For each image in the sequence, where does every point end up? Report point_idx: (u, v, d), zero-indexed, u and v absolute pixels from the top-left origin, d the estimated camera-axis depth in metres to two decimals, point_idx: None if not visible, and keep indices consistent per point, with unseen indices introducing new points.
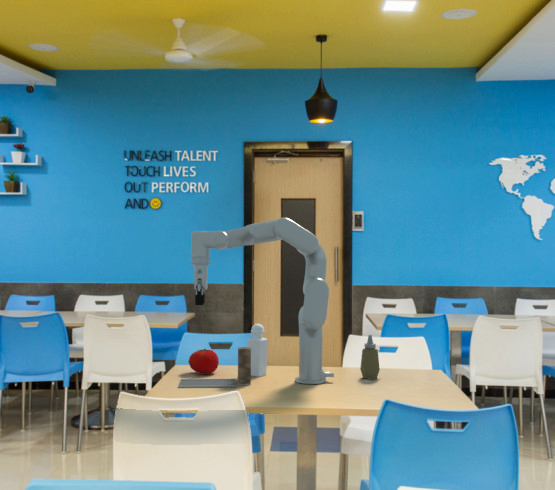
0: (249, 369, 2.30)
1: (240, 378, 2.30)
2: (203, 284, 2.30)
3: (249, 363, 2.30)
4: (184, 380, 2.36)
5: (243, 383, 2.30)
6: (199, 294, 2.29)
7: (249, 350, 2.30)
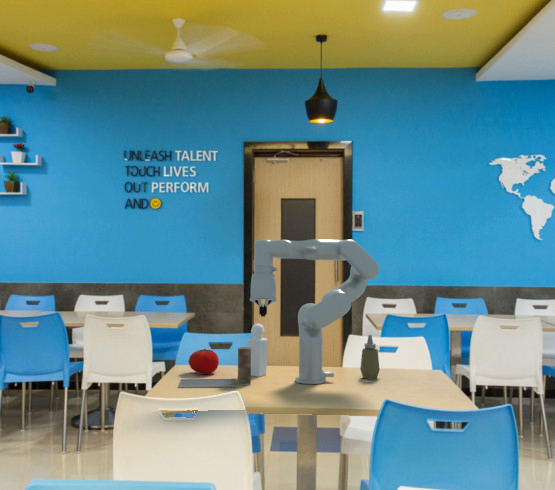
0: (249, 369, 2.30)
1: (240, 378, 2.30)
2: None
3: (249, 363, 2.30)
4: (184, 380, 2.36)
5: (243, 383, 2.30)
6: None
7: (249, 350, 2.30)
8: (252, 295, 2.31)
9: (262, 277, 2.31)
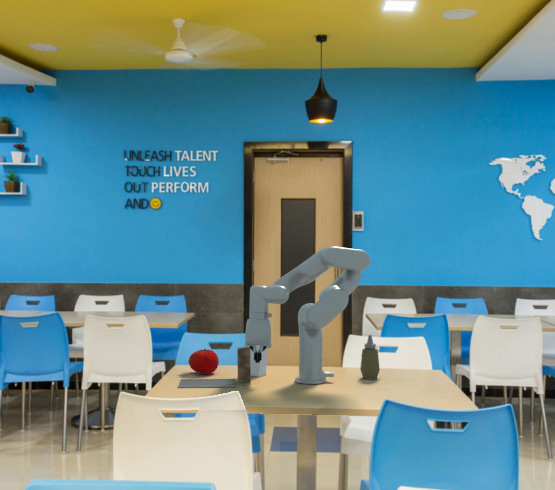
0: (249, 369, 2.30)
1: (240, 378, 2.30)
2: None
3: (249, 363, 2.30)
4: (184, 380, 2.36)
5: (243, 383, 2.30)
6: None
7: (248, 350, 2.30)
8: (247, 341, 2.31)
9: (257, 323, 2.31)
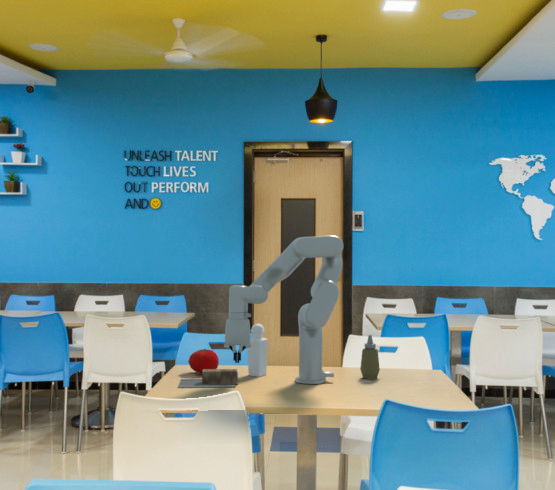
0: (222, 372, 2.29)
1: (231, 381, 2.29)
2: None
3: (216, 372, 2.29)
4: (184, 380, 2.36)
5: (236, 378, 2.29)
6: (240, 352, 2.32)
7: (203, 373, 2.28)
8: (226, 341, 2.30)
9: (236, 323, 2.30)
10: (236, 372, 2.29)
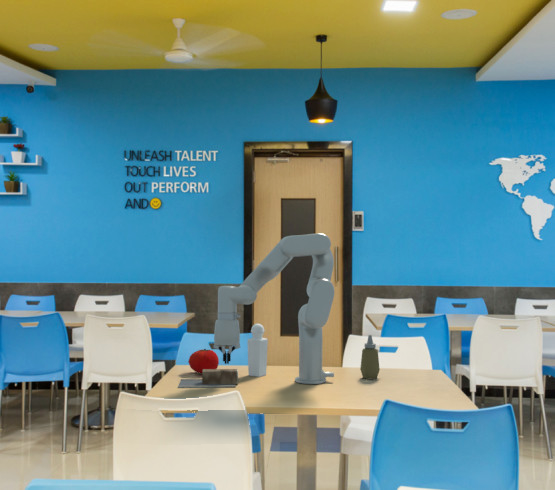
0: (222, 372, 2.29)
1: (231, 381, 2.29)
2: None
3: (216, 372, 2.29)
4: (184, 380, 2.36)
5: (236, 378, 2.29)
6: None
7: (203, 373, 2.28)
8: (215, 342, 2.30)
9: (225, 324, 2.30)
10: (236, 372, 2.29)
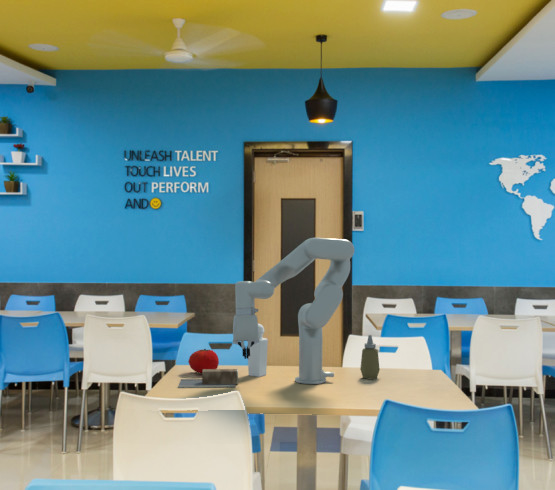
0: (222, 372, 2.29)
1: (231, 381, 2.29)
2: None
3: (216, 372, 2.29)
4: (184, 380, 2.36)
5: (236, 378, 2.29)
6: None
7: (203, 373, 2.28)
8: (234, 338, 2.30)
9: (243, 319, 2.30)
10: (236, 372, 2.29)
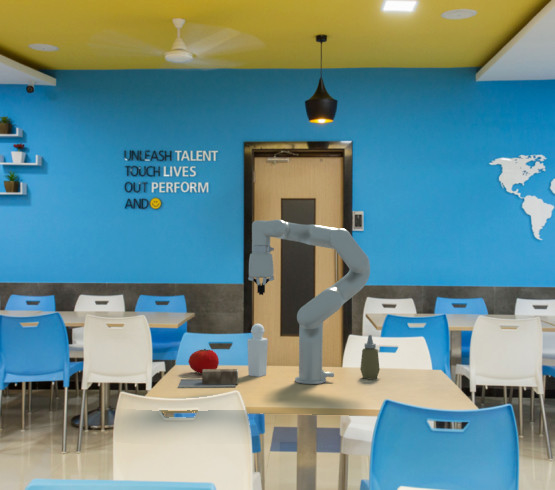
0: (222, 372, 2.29)
1: (231, 381, 2.29)
2: None
3: (216, 372, 2.29)
4: (184, 380, 2.36)
5: (236, 378, 2.29)
6: None
7: (203, 373, 2.28)
8: (250, 274, 2.39)
9: (259, 256, 2.39)
10: (236, 372, 2.29)
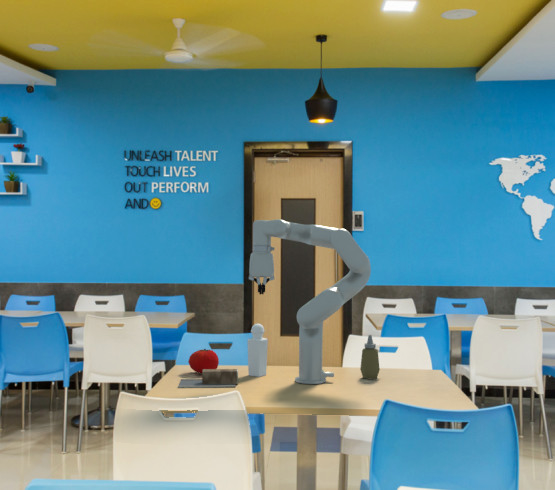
0: (222, 372, 2.29)
1: (231, 381, 2.29)
2: None
3: (216, 372, 2.29)
4: (184, 380, 2.36)
5: (236, 378, 2.29)
6: (264, 284, 2.42)
7: (203, 373, 2.28)
8: (251, 273, 2.40)
9: (260, 256, 2.40)
10: (236, 372, 2.29)
